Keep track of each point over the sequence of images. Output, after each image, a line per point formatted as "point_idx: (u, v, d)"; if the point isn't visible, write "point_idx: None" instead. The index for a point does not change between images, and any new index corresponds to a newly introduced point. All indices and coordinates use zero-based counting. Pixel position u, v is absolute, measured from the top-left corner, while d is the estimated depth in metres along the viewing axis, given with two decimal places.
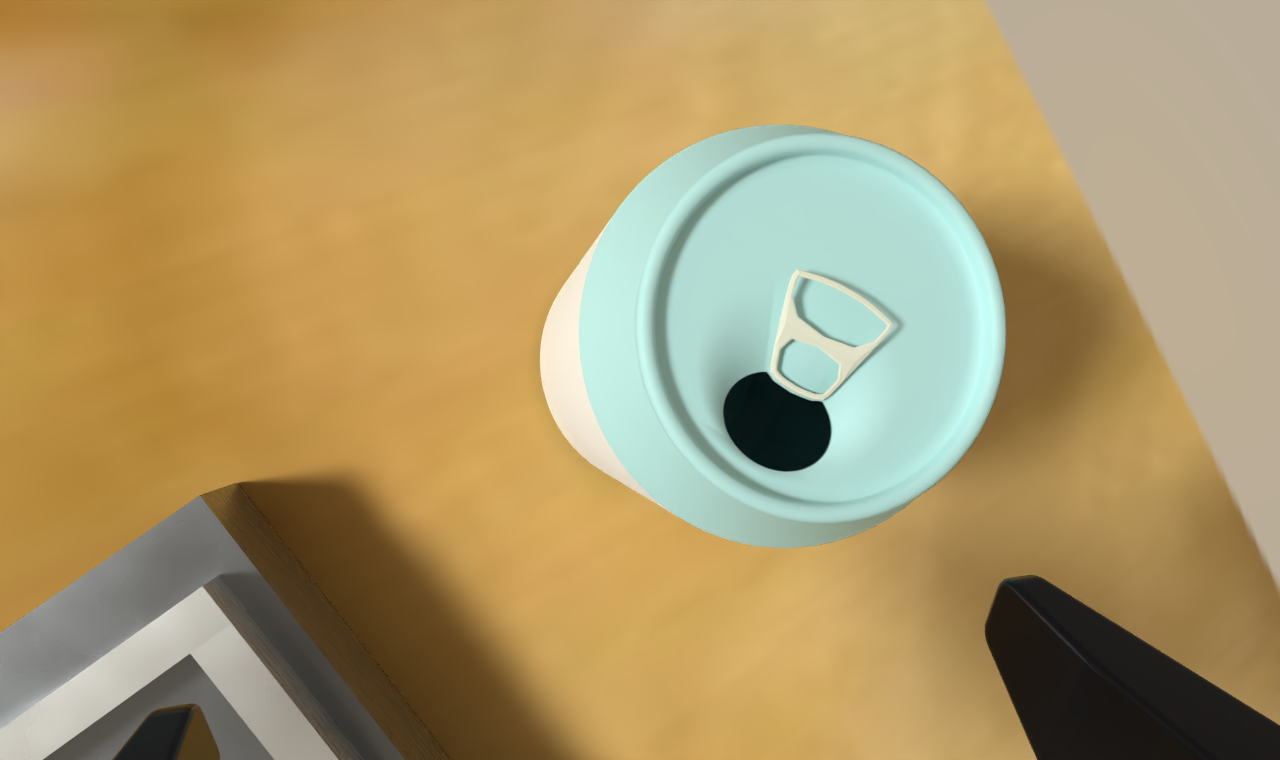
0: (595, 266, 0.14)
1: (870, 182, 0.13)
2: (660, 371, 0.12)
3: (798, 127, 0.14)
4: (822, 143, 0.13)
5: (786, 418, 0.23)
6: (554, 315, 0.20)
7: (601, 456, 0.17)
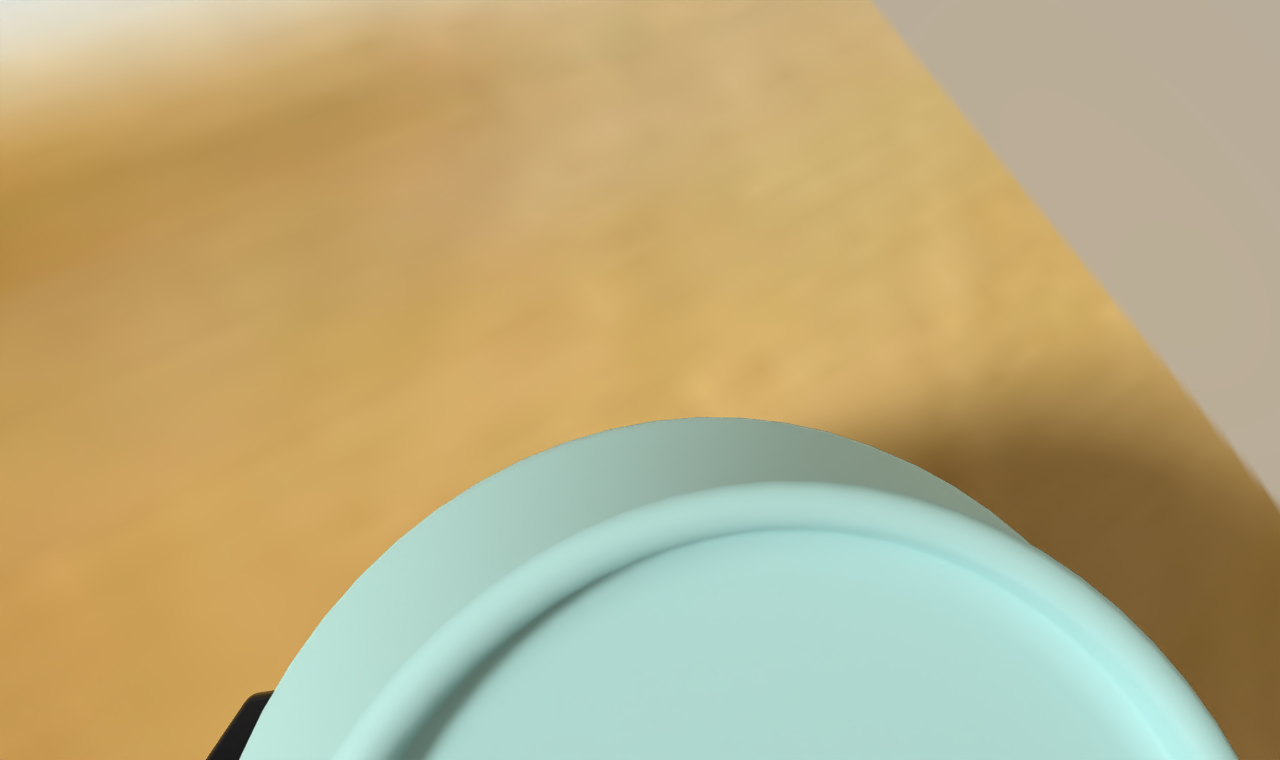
0: None
1: (865, 577, 0.05)
2: None
3: (679, 430, 0.06)
4: (721, 517, 0.05)
5: None
6: None
7: None
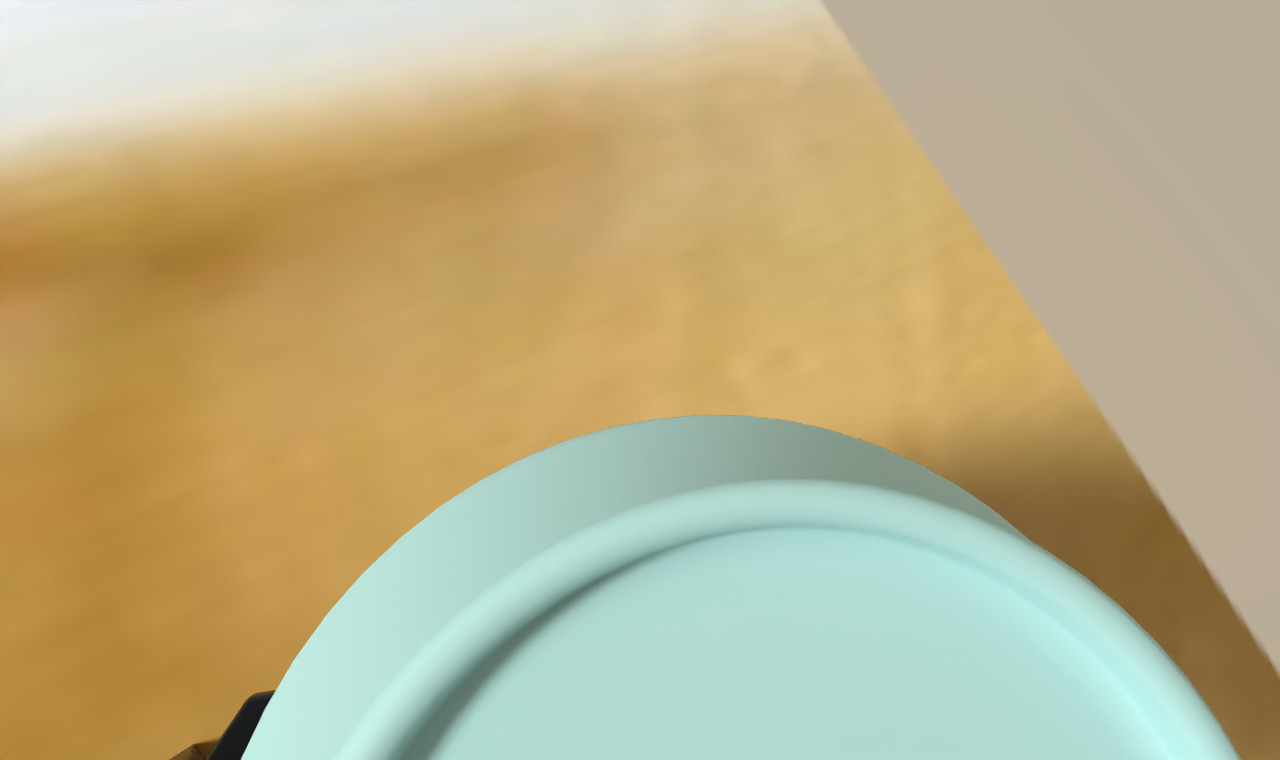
0: None
1: (868, 573, 0.05)
2: None
3: (682, 427, 0.06)
4: (724, 514, 0.05)
5: None
6: None
7: None
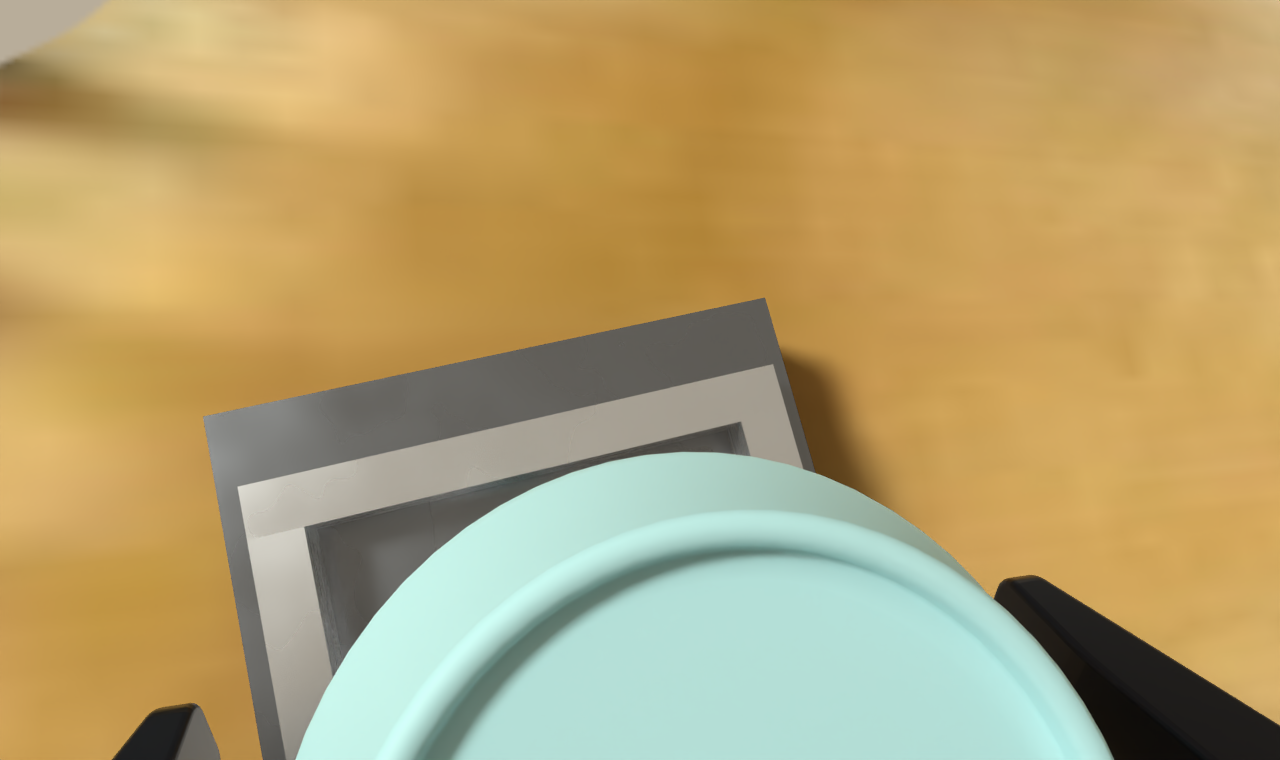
0: None
1: (811, 584, 0.07)
2: None
3: (666, 463, 0.08)
4: (696, 538, 0.06)
5: None
6: None
7: None
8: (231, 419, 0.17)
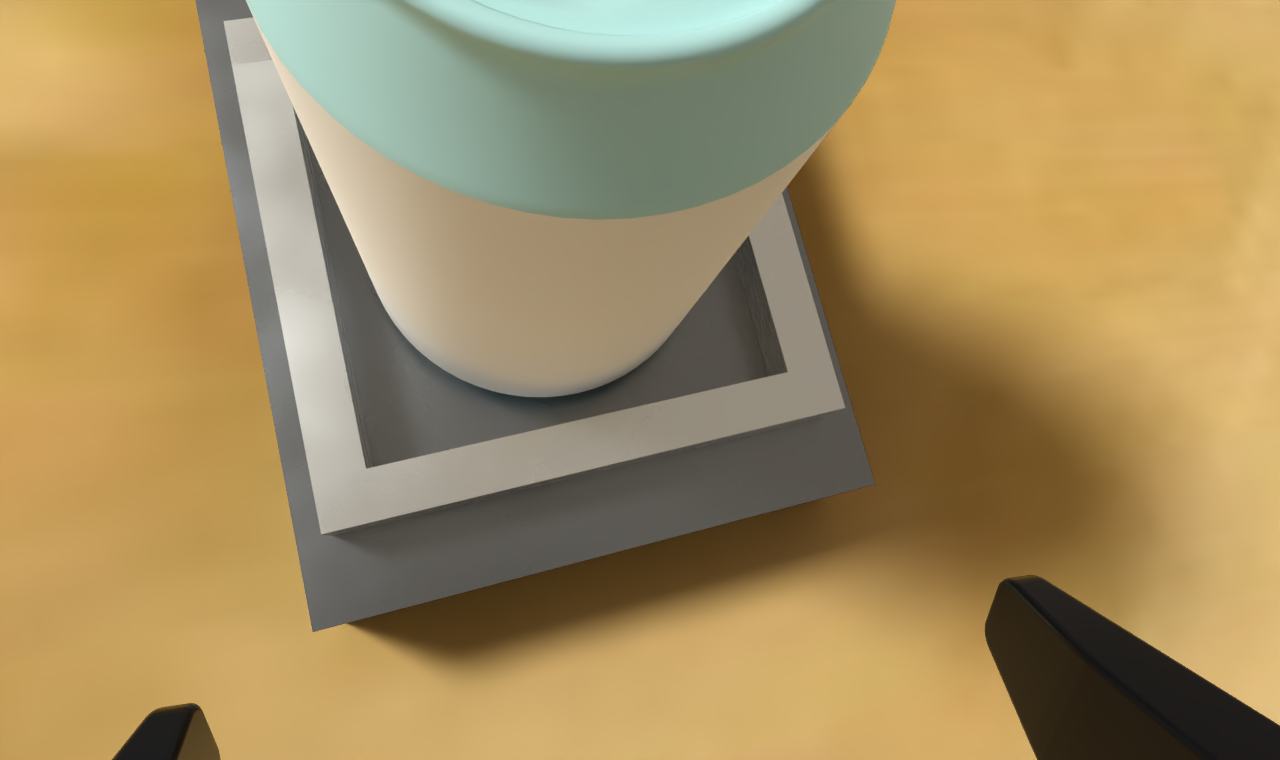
0: None
1: None
2: None
3: None
4: None
5: None
6: None
7: (359, 212, 0.11)
8: None
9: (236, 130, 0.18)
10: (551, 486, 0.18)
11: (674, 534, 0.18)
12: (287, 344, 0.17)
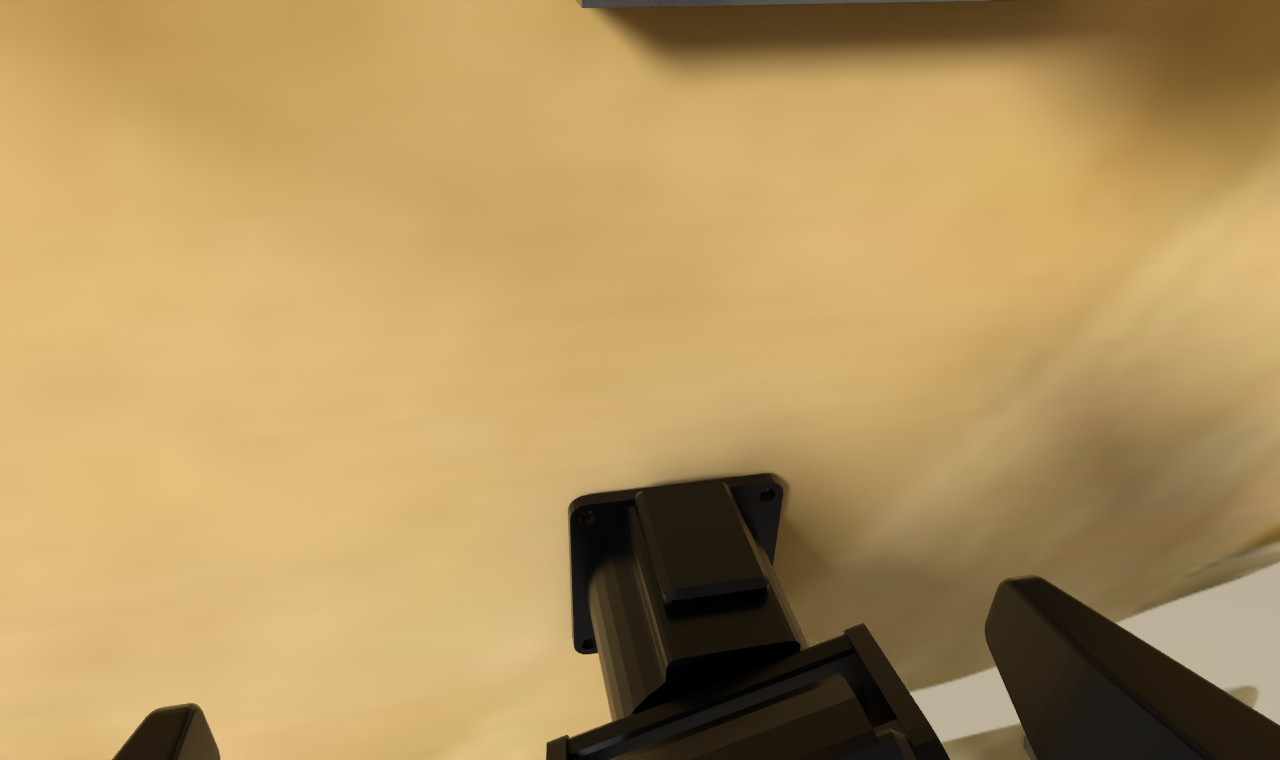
0: None
1: None
2: None
3: None
4: None
5: None
6: None
7: None
8: None
9: None
10: None
11: None
12: None
